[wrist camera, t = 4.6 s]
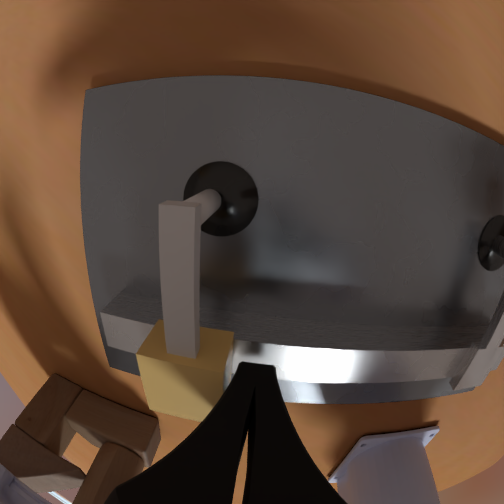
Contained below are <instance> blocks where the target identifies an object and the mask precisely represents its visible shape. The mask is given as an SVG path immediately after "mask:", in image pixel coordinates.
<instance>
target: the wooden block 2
mask: <svg viewBox="0 0 504 504" xmlns="http://www.w3.org/2000/svg"><path fill="white" fill-rule="evenodd" d="M76 432H78V433H79V434H80V435H81V436H82V437H84V438H85V439H86V440H87V441H89V442H90V443H91V444H92V445H94V446H96V447H99V448H100V450H99V451H98V453H97V455H96V457H95V459H94V461H93V463H92V465H91V467H90V469H89V471H88V473H87V475H85V473H84V472H83V471H82V470H81V469H80V468H79V467H77V466H75V465H74V464H72V463H70V462H68V461H67V460H65V459H63V458H62V455H63V453H64V452H65V450H66V448H67V447H68V445H69V443H70V442H71V440H72V438H73V437H74V435H75V433H76ZM160 440H161V436H160V429H159V421H158V419H156V418H154V417H151V416H148V415H145V414H143V413H140V412H137V411H134V410H132V409H129V408H126V407H124V406H121V405H119V404H116V403H114V402H112V401H109V400H107V399H105V398H102V397H100V396H98V395H96V394H94V393H91V392H89V391H87V390H83V389H82V388H81V387H80V386H78V385H76V384H74V383H72V382H70V381H68V380H66V379H65V378H63V377H61V376H59V375H57V374H52V375H51V377H50V378H49V379H48V380H47V381H46V383H45V384H44V385H43V386H42V387H41V389H40V390H39V391H38V392H37V394H36V395H35V396H34V397H33V399H32V400H31V401H30V402H29V404H28V405H27V406H26V407H25V409H24V410H23V411H22V413H21V414H20V415H19V417H18V418H17V419H16V421H15V425H14V424H12V425H11V426H10V427H9V429H8V430H7V432H6V433H5V434H4V436H3V437H2V439H1V440H0V463H1V464H2V465H3V466H4V467H5V468H6V469H7V470H9V471H10V472H11V473H12V474H13V475H14V476H15V477H16V478H18V479H19V480H20V481H21V482H23V483H24V484H25V485H27V486H28V487H29V488H31V489H32V490H33V491H34V492H36V493H43V492H52V491H58V490H66V489H72V488H77V487H80V489H79V491H78V493H77V495H76V497H75V500H74V501H73V503H72V504H104V502H105V501H106V499H107V498H108V496H109V495H110V493H111V492H112V491H113V490H114V489H115V487H116V486H118V485H120V484H122V483H124V482H126V481H127V480H129V479H131V478H133V477H135V476H137V475H138V474H140V473H142V471H143V468H144V467H150V466H151V464H152V461H153V458H154V456H155V453H156V451H157V448H158V445H159V443H160Z"/></svg>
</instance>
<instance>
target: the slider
mask: <svg viewBox="0 0 504 504" xmlns="http://www.w3.org/2000/svg"><path fill="white" fill-rule="evenodd" d="M220 205H221V197H220V195H219V193H218V192H217V191H215V190H213V189H206V190H204V191H202V192H200V193H198V194H196V195H194V196H192V197H190V198H188V199H186V200H185V201H171V200H167V201H165V202H163V203H161V204H159V260H160V281H161V296H162V309H163V320H161V319H159V320H158V321H157V322H156V324H155V325H154V327H153V328H152V330H151V331H150V333H149V334H148V336H147V337H146V339H145V340H144V342H143V344H142V345H141V347H140V348H139V350H138V351H137V353H136V357H137V362H138V366H139V371H140V375H141V379H142V383H143V387H144V391H145V395H146V398H147V402H148V405H149V409H150V410H154V411H157V412H161V413H165V414H168V415H172V416H176V417H181V418H185V419H189V420H194V421H199V422H202V421H203V420H204V419H205V417H206V416H207V415H208V414H209V412H210V411H211V410H212V409H213V407H214V406H215V405H216V403H217V402H218V401H219V399H220V398H221V396H222V395H223V393H224V392H225V390H226V389H227V387H228V385H229V383H230V382H231V370H232V355H233V340H234V332H231V331H224V330H218V329H211V328H205V327H200V312H199V288H200V235H201V225H202V224H203V223H204V222H205V221H206V220H207V219H208V218H209V217H210V216H211V215H212V214H213V213H214V212H215V211H217V210H218V209H219V207H220Z"/></svg>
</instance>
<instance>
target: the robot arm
mask: <svg viewBox="0 0 504 504" xmlns="http://www.w3.org/2000/svg"><path fill="white" fill-rule="evenodd" d="M439 430H440V428H439V426H433V427H428V428H423V429H417V430H411V431H404V432H397V433H389V434H380V435H369V436H364V437H362V438H360V439H359V441H358V442H357V443H356V445H355V446H354V447H353V449H352V450H351V451H350V453H349V454H348V455H347V456H346V458H345V459H344V460H343V462H342V463H341V464H340V465H339V466H338V468H337V469H336V470H335V471H334V472H333V474H332V475H331V476H330V477H329V478H328V481H327V479H326V478H325V477H324V475H323V474H322V473H321V471H320V470H319V469H318V467H317V466H316V465H315V463H314V461H313V460H312V458H311V457H310V455H309V454H308V452H307V450H306V448H305V447H304V445H303V443H302V441H301V439H300V438H299V436H298V434H297V432H296V429H295V427H294V425H293V423H292V421H291V418H290V416H289V413H288V411H287V408H286V405H285V403H284V400H283V397H282V394H281V390H280V387H279V383H278V379H277V373H276V367H275V366H274V365H268V364H259V363H251V362H243V361H242V362H240V363H239V365H238V367H237V370H236V372H235V374H234V376H233V378H232V380H231V382H230V383H229V385H228V387H227V389H226V390H225V392H224V393H223V395H222V396H221V398H220V399H219V401H218V402H217V403H216V405H215V406H214V407H213V409H212V410H211V411H210V412H209V414H208V415H207V416H206V417H205V419H204V420H203V421H202V422H201V423H200V424H199V425H198V427H197V428H196V429H195V430H194V431H193V432H192V433H191V434H190V435H189V436H188V437H187V438H186V439H185V440H184V441H182V442H181V443H180V444H179V445H178V446H177V447H176V448H175V449H174V450H172V451H171V452H170V453H169V454H167V455H166V456H165V457H163V458H162V459H161V460H159V461H158V462H156V463H155V464H154V465H152V466H151V467H149V468H148V469H146V470H145V471H143V472H142V473H140V474H138V475H137V476H135V477H133V478H131V479H129V480H127V481H126V482H124V483H122V484H120V485H118V486H116V487H115V489H114V490H113V491H112V492H111V493H110V495H109V496H108V498H107V499H106V501H105V502H104V504H232V500H233V494H234V488H235V482H236V475H237V471H238V466H239V462H240V459H241V455H242V451H243V447H244V443H245V440H246V436H247V432H248V453H247V473H246V481H245V488H244V495H243V501H242V504H440V501H439V497H438V493H437V489H436V485H435V481H434V478H433V474H432V471H431V467H430V464H429V461H428V458H427V454H426V451H425V448H424V447H425V446H426V445H427V444H428V443H429V441H430V440H431V439H432V438H433V437H434V436H435V435H436V434H437V433H438V431H439ZM335 482H337V487H338V493H337V492H336V491H335V489H334V488H333V487H332V486H331V485H330V483H335ZM0 504H52V503H50V502H49V501H47V500H46V499H44V498H43V497H41V496H40V495H39V494H37V493H36V492H34V491H33V490H32V489H31V488H29V487H28V486H27V485H25V484H24V483H23V482H21V481H20V480H19V479H18V478H16V477H15V476H14V475H13V474H12V473H11V472H10V471H9V470H7V469H6V468H5V467H4V466H3V465H2V464H1V463H0Z"/></svg>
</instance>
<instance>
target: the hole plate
mask: <svg viewBox="0 0 504 504" xmlns="http://www.w3.org/2000/svg"><path fill="white" fill-rule="evenodd" d="M80 187H81V211H82V225H83V236H84V245H85V254H86V261H87V268H88V275H89V281H90V287H91V292H92V298H93V303H94V307H95V312H96V317H97V321H98V325H99V329H100V333H101V337H102V341H103V345H104V349H105V352H106V356H107V359H108V362H109V366H110V367H112V368H115V369H119V370H122V371H125V372H128V373H132V374H135V375H139V376H141V375H140V371H139V366H138V362H137V357H136V353H137V351H138V350H139V348H140V347H141V345H142V344H143V342H144V340H145V339H146V337H147V336H148V334H149V333H150V331H151V330H152V328H153V327H154V325H155V324H156V322H157V321H158V320H159V319H161V320H163V309H162V296H161V281H160V260H159V204H161V203H163V202H165V201H167V200H171V201H185V200H186V199H188V198H190V197H192V196H194V195H196V194H198V193H200V192H202V191H204V190H206V189H213V190H215V191H217V192H218V193H219V195H220V197H221V205H220V207H219V209H218V210H217V211H215V212H214V213H213V214H212V215H211V216H210V217H209V218H208V219H207V220H206V221H205V222H204V223H203V224H202V225H201V235H200V288H199V312H200V327H205V328H211V329H218V330H224V331H231V332H234V340H233V355H232V370H231V380H232V378H233V376H234V374H235V372H236V370H237V367H238V365H239V363H240V362H242V361H243V362H251V363H259V364H268V365H274V366H275V367H276V373H277V379H278V383H279V387H280V390H281V394H282V397H283V400H284V402H297V403H318V404H364V403H384V402H398V401H408V400H418V399H426V398H433V397H440V396H446V395H452V394H457V393H463V392H467V391H472V390H474V388H475V387H476V386H480V385H481V384H482V383H483V381H484V380H485V378H486V377H487V375H488V374H489V372H490V371H491V370H496V369H497V367H498V365H499V364H500V362H501V360H502V359H503V357H504V146H503V145H501V144H499V143H497V142H496V141H494V140H492V139H490V138H488V137H486V136H484V135H482V134H480V133H478V132H476V131H474V130H472V129H469V128H467V127H465V126H463V125H460V124H458V123H456V122H453V121H451V120H449V119H446V118H444V117H441V116H439V115H436V114H433V113H431V112H428V111H425V110H422V109H419V108H416V107H413V106H410V105H407V104H404V103H401V102H398V101H394V100H391V99H387V98H384V97H380V96H376V95H372V94H368V93H364V92H360V91H355V90H351V89H346V88H341V87H336V86H331V85H325V84H319V83H312V82H305V81H298V80H290V79H280V78H269V77H254V76H221V75H216V76H183V77H168V78H157V79H148V80H140V81H132V82H126V83H119V84H113V85H108V86H103V87H98V88H93V89H88V90H86V92H85V100H84V109H83V120H82V134H81V157H80Z"/></svg>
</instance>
